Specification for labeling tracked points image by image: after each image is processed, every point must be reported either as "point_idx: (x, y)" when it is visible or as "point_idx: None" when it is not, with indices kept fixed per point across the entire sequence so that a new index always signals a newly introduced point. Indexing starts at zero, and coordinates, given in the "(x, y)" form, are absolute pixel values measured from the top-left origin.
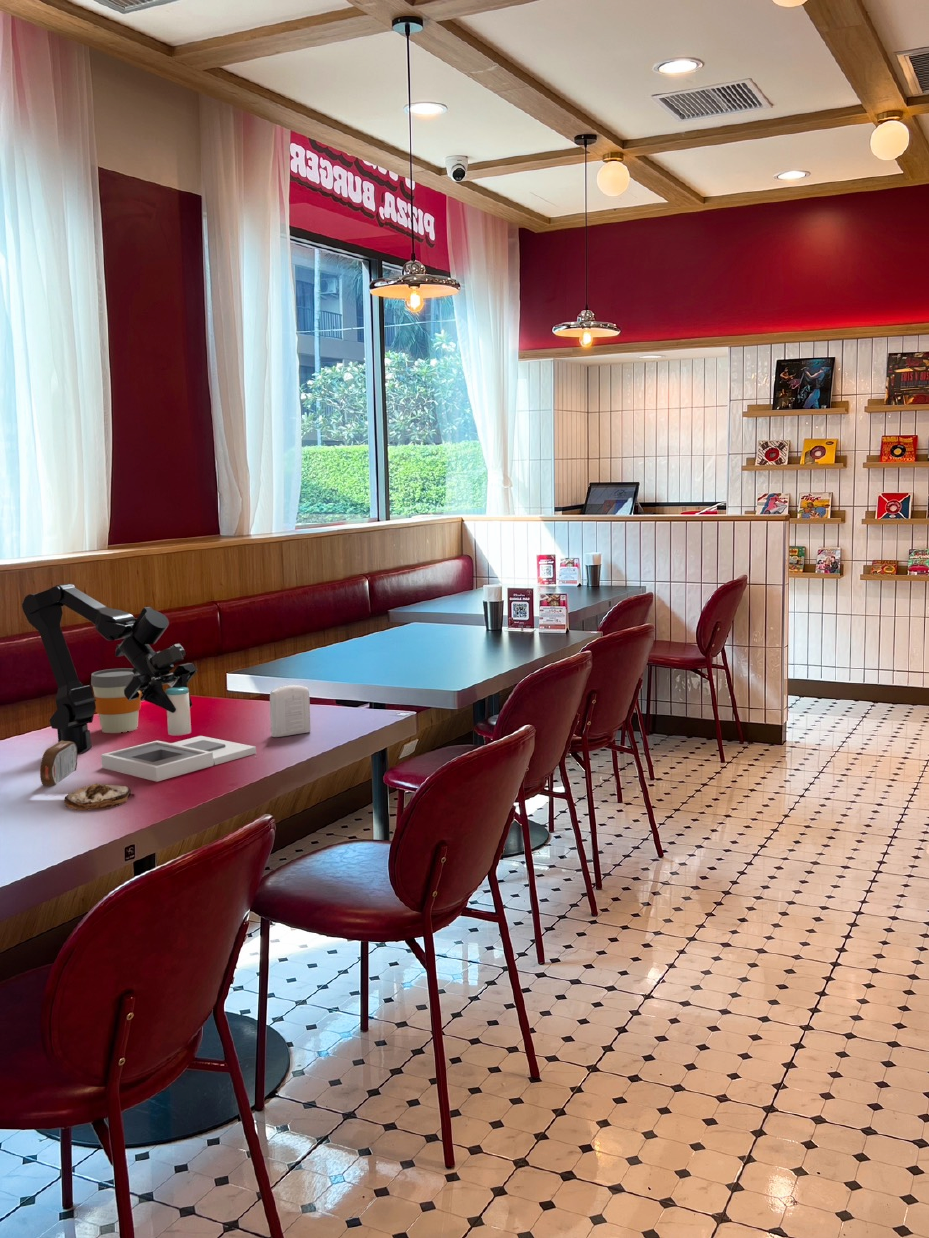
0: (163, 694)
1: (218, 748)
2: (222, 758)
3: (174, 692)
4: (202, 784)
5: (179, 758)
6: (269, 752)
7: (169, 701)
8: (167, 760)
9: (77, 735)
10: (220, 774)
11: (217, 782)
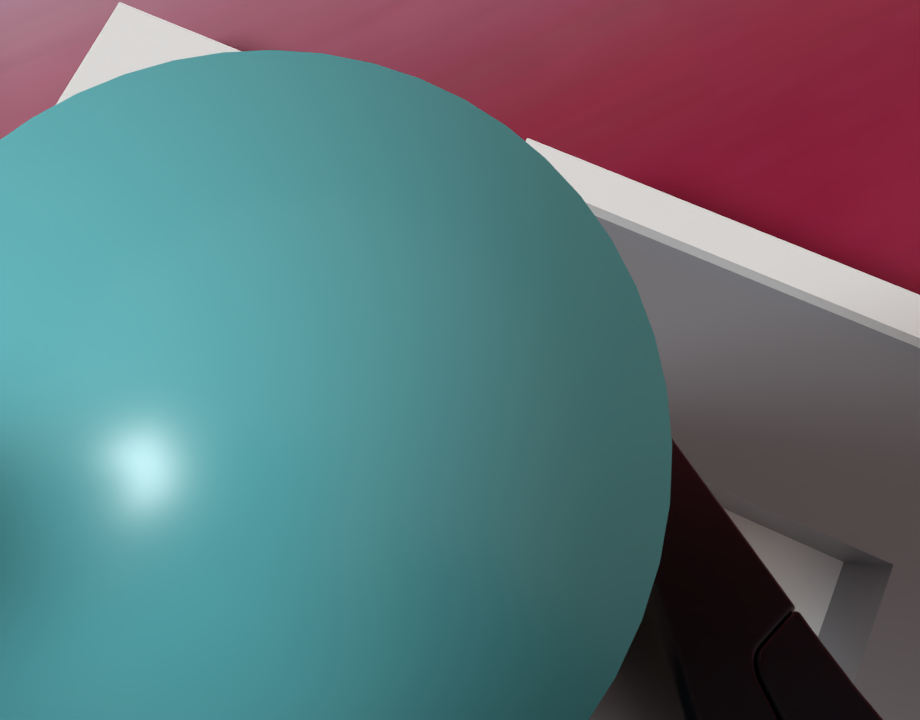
0: (809, 706)
1: None
2: None
3: (645, 329)
4: (884, 111)
5: (711, 372)
6: (13, 25)
7: (682, 509)
8: (800, 451)
9: None
10: (624, 104)
11: (813, 37)
